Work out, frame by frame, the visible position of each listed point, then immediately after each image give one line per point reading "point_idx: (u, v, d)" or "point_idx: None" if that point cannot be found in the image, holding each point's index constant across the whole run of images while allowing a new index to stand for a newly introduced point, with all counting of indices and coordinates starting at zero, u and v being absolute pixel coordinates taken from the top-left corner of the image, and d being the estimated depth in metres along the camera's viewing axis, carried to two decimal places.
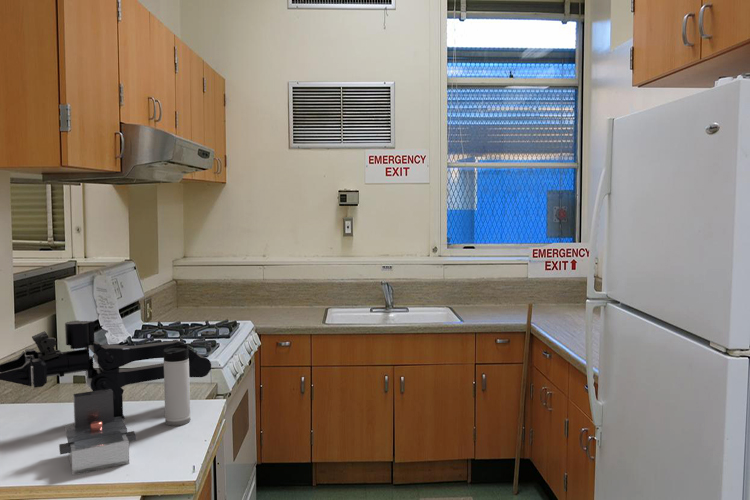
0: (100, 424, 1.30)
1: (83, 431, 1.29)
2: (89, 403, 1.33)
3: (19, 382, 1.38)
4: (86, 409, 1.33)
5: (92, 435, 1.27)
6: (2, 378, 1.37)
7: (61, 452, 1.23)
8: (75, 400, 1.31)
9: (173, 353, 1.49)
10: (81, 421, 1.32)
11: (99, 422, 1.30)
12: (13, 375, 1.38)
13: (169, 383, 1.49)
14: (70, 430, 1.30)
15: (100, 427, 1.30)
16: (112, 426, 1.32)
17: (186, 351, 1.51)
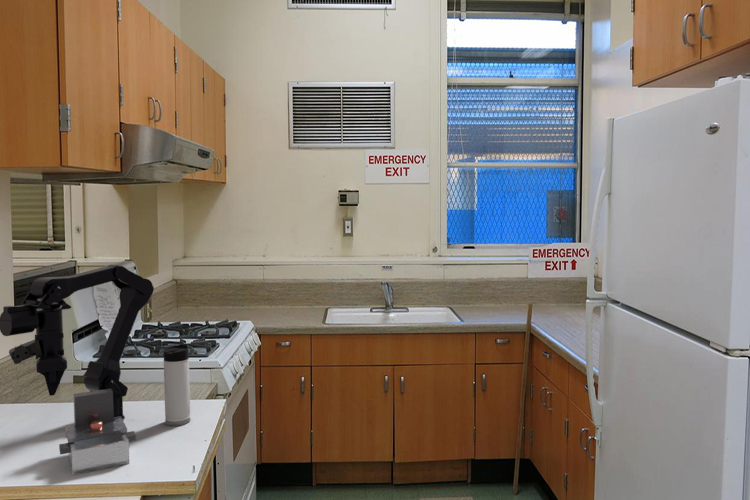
0: (100, 424, 1.30)
1: (83, 431, 1.29)
2: (89, 403, 1.33)
3: (60, 376, 1.40)
4: (86, 409, 1.33)
5: (92, 435, 1.27)
6: (54, 389, 1.40)
7: (61, 452, 1.23)
8: (75, 400, 1.31)
9: (173, 353, 1.49)
10: (81, 421, 1.32)
11: (99, 422, 1.30)
12: (52, 381, 1.39)
13: (169, 383, 1.49)
14: (70, 430, 1.30)
15: (100, 427, 1.30)
16: (112, 426, 1.32)
17: (186, 351, 1.51)
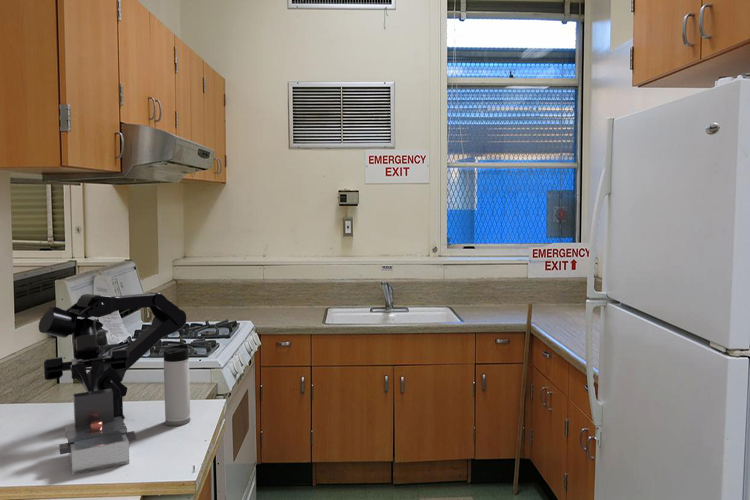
0: (100, 424, 1.30)
1: (83, 431, 1.29)
2: (89, 403, 1.33)
3: (96, 380, 1.44)
4: (86, 409, 1.33)
5: (92, 435, 1.27)
6: (93, 389, 1.41)
7: (61, 452, 1.23)
8: (75, 400, 1.31)
9: (173, 353, 1.49)
10: (81, 421, 1.32)
11: (99, 422, 1.30)
12: (95, 380, 1.42)
13: (169, 383, 1.49)
14: (70, 430, 1.30)
15: (100, 427, 1.30)
16: (112, 426, 1.32)
17: (186, 351, 1.51)
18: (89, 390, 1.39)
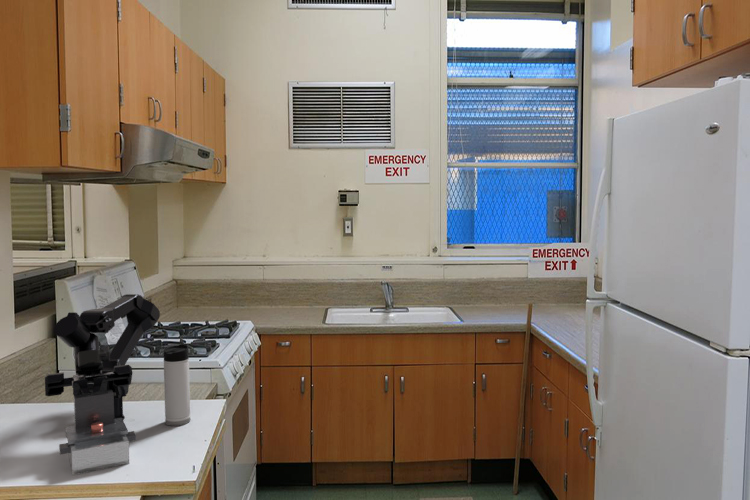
0: (101, 426, 1.29)
1: (83, 432, 1.28)
2: (89, 404, 1.32)
3: None
4: (87, 410, 1.32)
5: (93, 437, 1.26)
6: None
7: (61, 452, 1.23)
8: (75, 401, 1.30)
9: (173, 353, 1.49)
10: (82, 422, 1.31)
11: (100, 424, 1.29)
12: None
13: (169, 383, 1.49)
14: (70, 432, 1.29)
15: (101, 429, 1.29)
16: (113, 428, 1.31)
17: (186, 351, 1.51)
18: None
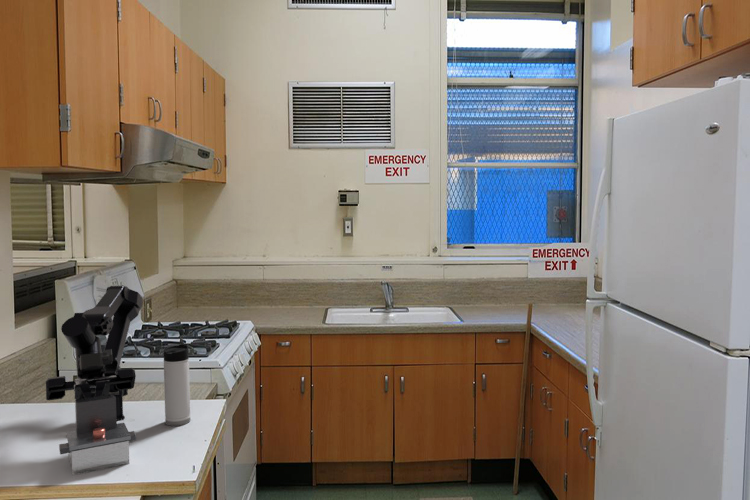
0: (103, 431, 1.25)
1: (85, 438, 1.25)
2: (91, 409, 1.28)
3: None
4: (88, 415, 1.28)
5: (94, 443, 1.23)
6: None
7: (61, 452, 1.23)
8: (77, 406, 1.27)
9: (173, 353, 1.49)
10: (83, 428, 1.28)
11: (102, 429, 1.26)
12: None
13: (169, 383, 1.49)
14: (72, 437, 1.25)
15: (103, 434, 1.25)
16: (115, 433, 1.28)
17: (186, 351, 1.51)
18: None
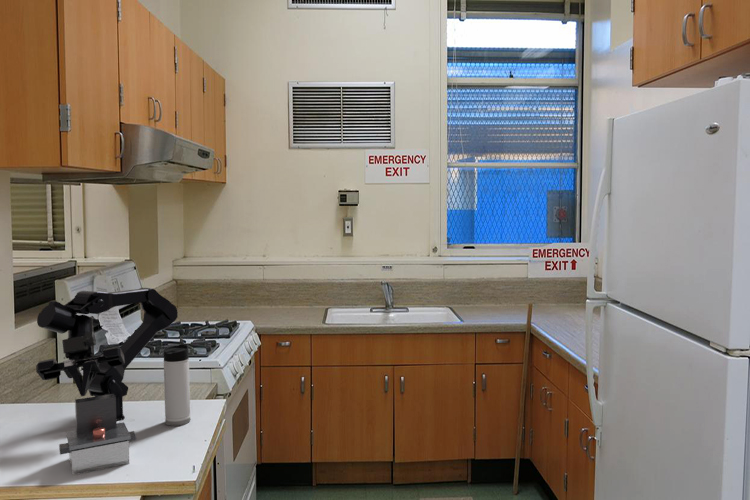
0: (103, 431, 1.25)
1: (85, 438, 1.25)
2: (91, 409, 1.29)
3: (92, 379, 1.43)
4: (88, 415, 1.28)
5: (94, 442, 1.23)
6: (86, 390, 1.40)
7: (61, 452, 1.23)
8: (77, 406, 1.27)
9: (173, 353, 1.49)
10: (83, 427, 1.28)
11: (102, 429, 1.26)
12: (88, 380, 1.41)
13: (169, 383, 1.49)
14: (72, 437, 1.26)
15: (103, 434, 1.25)
16: (115, 433, 1.28)
17: (186, 351, 1.51)
18: (80, 392, 1.38)
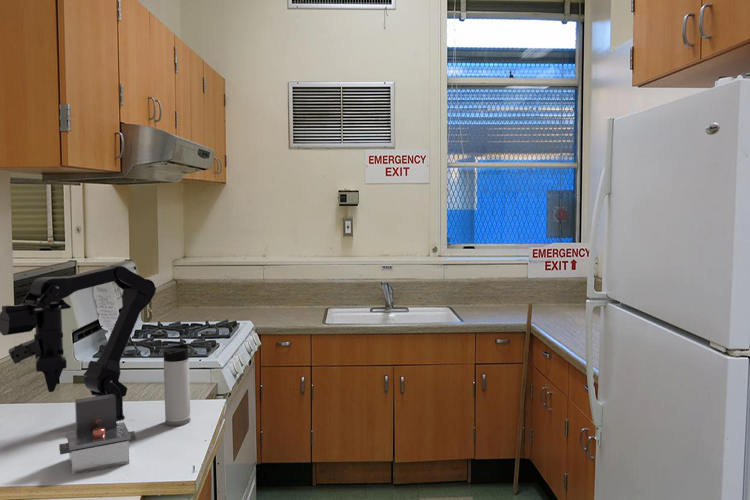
0: (103, 431, 1.25)
1: (85, 438, 1.25)
2: (91, 409, 1.29)
3: (59, 373, 1.43)
4: (88, 415, 1.28)
5: (94, 442, 1.23)
6: (53, 386, 1.43)
7: (61, 452, 1.23)
8: (77, 406, 1.27)
9: (173, 353, 1.49)
10: (83, 427, 1.28)
11: (102, 429, 1.26)
12: (51, 378, 1.42)
13: (169, 383, 1.49)
14: (72, 437, 1.26)
15: (103, 434, 1.25)
16: (115, 433, 1.28)
17: (186, 351, 1.51)
18: (48, 389, 1.43)
